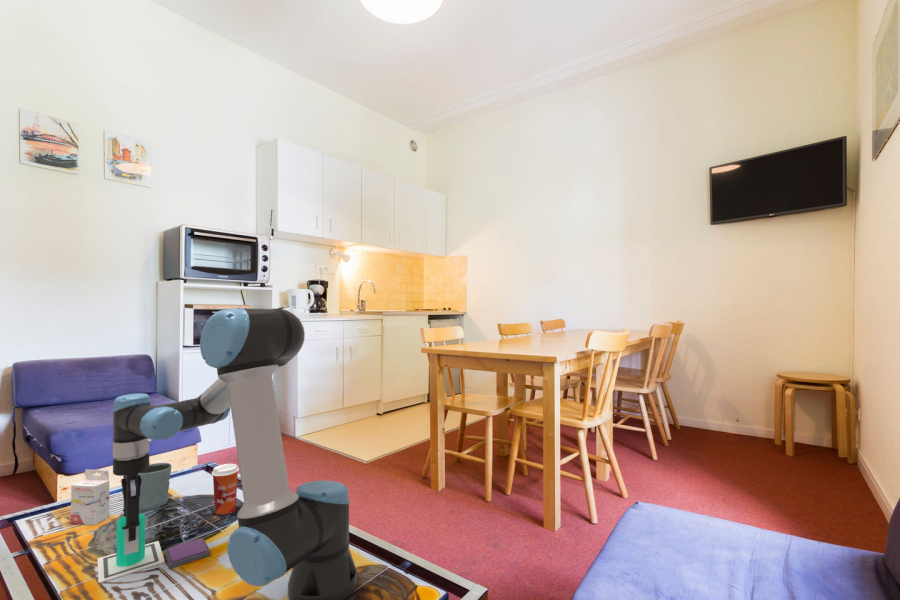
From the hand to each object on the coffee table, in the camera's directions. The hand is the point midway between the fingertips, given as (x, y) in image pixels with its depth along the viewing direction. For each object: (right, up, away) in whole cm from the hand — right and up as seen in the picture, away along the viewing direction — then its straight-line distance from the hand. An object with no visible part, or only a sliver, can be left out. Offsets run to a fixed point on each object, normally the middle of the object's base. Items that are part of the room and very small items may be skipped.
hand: (130, 547), depth 110 cm
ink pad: (+13, -3, +3) cm, 13 cm away
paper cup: (+10, -4, +27) cm, 29 cm away
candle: (0, -3, 0) cm, 3 cm away
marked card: (0, -3, 0) cm, 3 cm away
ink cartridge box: (-28, -5, +22) cm, 36 cm away
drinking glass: (-17, -5, +33) cm, 37 cm away
